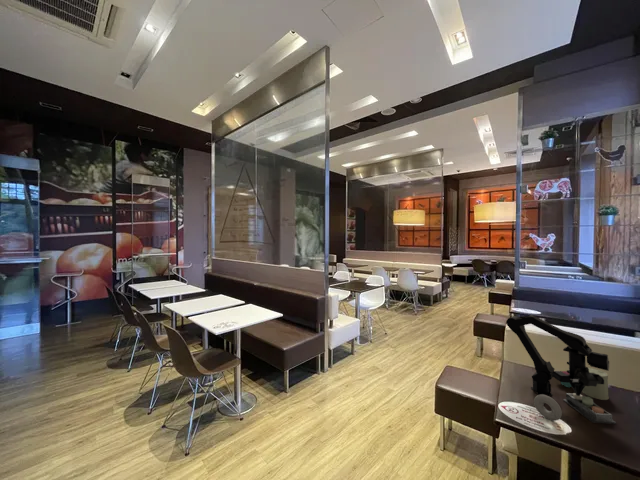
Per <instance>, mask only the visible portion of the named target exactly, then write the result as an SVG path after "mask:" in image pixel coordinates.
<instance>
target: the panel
mask: <svg viewBox="0 0 640 480" xmlns="http://www.w3.org/2000/svg"><path fill="white" fill-rule="evenodd" d="M573 393H574V392H573ZM573 393H570V392H568V393H567V392H565V398H562V401H563V402H564V403H565V404H566V405H568V406H570V407H571V408H572V409H574V410H575V411H577V412H578V413H579V414H580V415H582V416H583V417H584V418H586V419H587V420H589V422H591V423H594V424H608V425H609V424H610V425H617V422H616V421H615V420H614V419H613V414H612V413H610V412H608V411H606V409H604V408H602V406H601V407H600V406H599V405H598V404H596V403H595V402H593V406H597V407H600V408H602V409H603V410H604V413H596V412H594V411H593V410H592V406H585V405H584V404H583V403H582V400H580V399H575V398H574V397H573ZM580 395H582V393H581V394H580ZM582 396H584V395H582Z"/></svg>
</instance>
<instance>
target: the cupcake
mask: <svg viewBox="0 0 640 480" xmlns="http://www.w3.org/2000/svg"><path fill="white" fill-rule="evenodd" d="M560 371H561V372H563V373H565V374H569V373H568V372H567V370H560ZM560 384H561V385H562V386H563V385H564V386H563V387H566V388H570V387H572V386H571V384H570V383H566V382H560Z"/></svg>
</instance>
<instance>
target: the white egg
mask: <svg viewBox="0 0 640 480" xmlns="http://www.w3.org/2000/svg"><path fill="white" fill-rule="evenodd" d="M573 397H574V398H575V399H580V400H582V394H581V395H580V396H577V395H576V394H575V392H573Z"/></svg>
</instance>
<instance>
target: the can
mask: <svg viewBox="0 0 640 480" xmlns="http://www.w3.org/2000/svg"><path fill="white" fill-rule="evenodd" d="M588 369H589V373H595V374H599V375H600V376H601V377H602V378H603V379H604V384H597V386H596V387H594V386H585V387H584V389H583V390H582V393H583V394H584V395H585V396H587V397H590V398H592V399H597V400H602V401H607V400H609V398H610V397H609V381H608V379H609V375H608V373H607V372H605V371H603V370H601V369H598V368H594V367H588Z"/></svg>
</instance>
